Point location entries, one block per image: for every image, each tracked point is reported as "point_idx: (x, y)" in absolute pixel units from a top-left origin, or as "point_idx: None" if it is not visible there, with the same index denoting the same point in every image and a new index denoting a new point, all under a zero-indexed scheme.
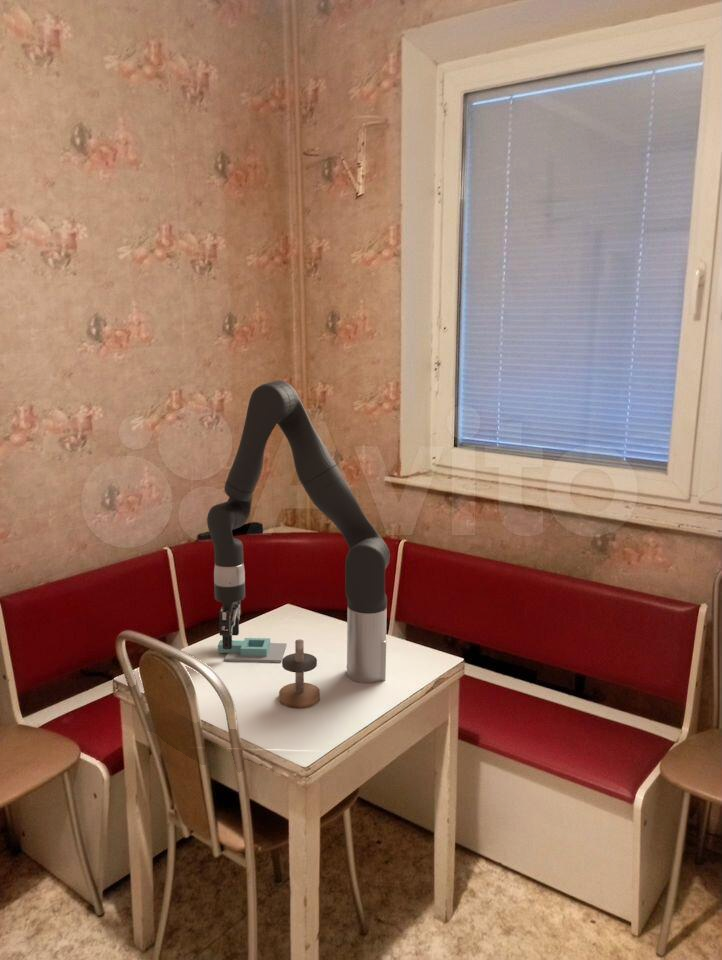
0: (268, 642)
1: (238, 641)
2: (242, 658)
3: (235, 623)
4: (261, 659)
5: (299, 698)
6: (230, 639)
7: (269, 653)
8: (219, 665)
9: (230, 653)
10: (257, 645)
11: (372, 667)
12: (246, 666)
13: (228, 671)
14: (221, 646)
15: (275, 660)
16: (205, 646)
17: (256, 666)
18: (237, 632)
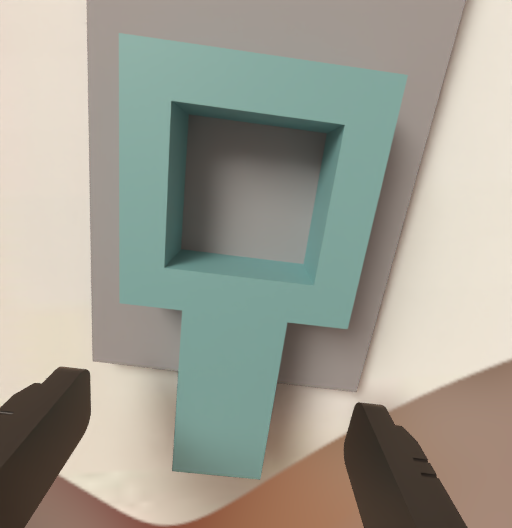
0: (235, 53)
1: (200, 351)
2: (373, 286)
3: (4, 493)
4: (422, 139)
5: None
6: (422, 488)
7: None
8: (391, 400)
9: (280, 364)
10: (180, 182)
11: None
12: (444, 249)
13: (485, 350)
14: (262, 449)
15: (463, 3)
16: (132, 481)
17: (463, 179)
18: (74, 388)
